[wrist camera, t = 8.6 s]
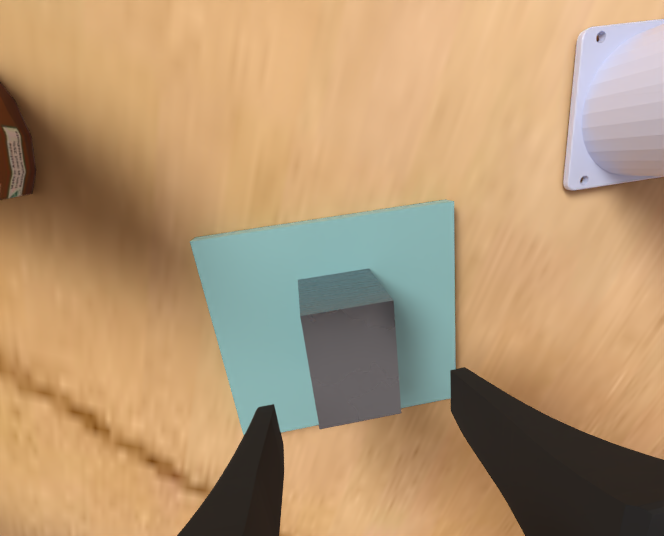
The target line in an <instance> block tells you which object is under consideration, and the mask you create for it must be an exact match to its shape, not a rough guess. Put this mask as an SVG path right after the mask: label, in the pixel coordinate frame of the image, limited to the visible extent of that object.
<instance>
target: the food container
mask: <svg viewBox="0 0 664 536" xmlns="http://www.w3.org/2000/svg"><path fill="white" fill-rule="evenodd" d="M35 175H36V166H35V158H34V151H33V144H32V137H31V134H30V132H29V130H28V128H27V126H26V123H25V121H24V119H23V117H22V115H21V112H20V110H19V108H18V106H17V104H16V101H15V100H14V99H13V97H12V96H11V95H10V94H9V93H8V91H7V90H6V89H5V88H4V86H3V85H2V84H1V83H0V200H3V199H8V198H13V197H18V196H23V195H28V194H32V192H33V186H34V180H35Z"/></svg>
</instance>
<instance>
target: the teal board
mask: <svg viewBox="0 0 664 536" xmlns="http://www.w3.org/2000/svg"><path fill="white" fill-rule="evenodd" d="M190 244H191V248H192V251H193V255H194V258H195V262H196V265H197V269H198V273H199V276H200V280H201V283H202V287H203V291H204V294H205V298H206V301H207V305H208V309H209V312H210V316H211V319H212V323H213V327H214V330H215V334H216V337H217V341H218V345H219V348H220V352H221V355H222V359H223V362H224V366H225V370H226V373H227V377H228V380H229V384H230V388H231V391H232V395H233V398H234V402H235V406H236V409H237V413H238V416H239V420H240V424H241V427H242V431H243V434H244V435H245V433H246V431H247V429H248V427H249V425H250V423H251V421H252V418H253V416H254V414H255V412H256V410H257V408H258V407H261V406H267V405H272V404H274V406H275V410H276V415H277V419H278V423H279V428H280V432H286V431H291V430H296V429H301V428H306V427H310V426H315V425H319V423H318V417H317V411H316V405H315V399H314V394H313V388H312V382H311V376H310V370H309V365H308V359H307V353H306V347H305V341H304V336H303V330H302V324H301V318H300V307H299V292H298V280H299V279H305V278H311V277H318V276H324V275H330V274H337V273H343V272H349V271H355V270H362V269H368V268H369V269H370V270H371V272H372V273H373V274H374V276H375V277H376V278H377V279H378V281H379V282H380V283H381V285H382V286H383V287H384V289H385V290H386V291H387V292H388V294H389V295H390V296H391V298H392V299H393V300H394V314H395V328H396V343H397V357H398V372H399V387H400V401H401V408H405V407H410V406H415V405H420V404H425V403H430V402H435V401H440V400H445V399H450V398H451V381H450V370H454V369H456V366H455V256H454V201H450V200H439V201H433V202H426V203H419V204H413V205H406V206H400V207H393V208H386V209H380V210H373V211H367V212H360V213H353V214H347V215H340V216H334V217H327V218H320V219H314V220H307V221H301V222H294V223H287V224H281V225H274V226H267V227H261V228H254V229H248V230H241V231H234V232H228V233H221V234H215V235H208V236H201V237H195V238H194V239H193V240H191V241H190Z"/></svg>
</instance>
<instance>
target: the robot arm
mask: <svg viewBox="0 0 664 536" xmlns="http://www.w3.org/2000/svg"><path fill="white" fill-rule="evenodd" d="M597 35H598V36H599V41H598V42H597V41H596V37H597ZM582 177H583V180H582V182H581V183H580V180H581V178H582ZM659 177H664V19H658V20H649V21H640V22H631V23H622V24H613V25H605V26H596V27H591V28H588V29H586V30H584V31H582V32H581V33H580V35H579V36H578V39H577V45H576V56H575V66H574V76H573V87H572V97H571V108H570V118H569V128H568V139H567V149H566V160H565V170H564V180H563V185H564V187H565V189H567V190H581V189H587V188H594V187H600V186H607V185H613V184H620V183H626V182H633V181H639V180H646V179H652V178H659ZM450 381H451V412H452V414H453V416H454V418H455V420H456V422H457V424H458V426H459V428H460V430H461V432H462V434H463V435H464V437H465V438H466V440H467V442H468V443H469V445H470V446H471V448H472V449H473V451H474V452H475V454H476V455H477V457H478V458H479V460H480V461H481V463H482V464H483V466H484V467H485V469H486V470H487V472H488V473H489V475H490V476H491V478H492V479H493V481H494V482H495V484H496V485H497V487H498V488H499V490H500V492H501V493H502V495H503V496H504V498H505V500H506V501H507V503H508V505H509V507H510V509H511V510H512V512H513V514H514V516H515V518H516V519H517V521H518V523H519V525H520V527H521V529H522V530H523V532H524V534H525V536H664V460H663V459H659V458H655V457H652V456H649V455H646V454H643V453H640V452H637V451H634V450H630V449H627V448H624V447H622V446H619V445H616V444H613V443H610V442H608V441H605V440H602V439H600V438H597V437H595V436H592V435H590V434H587V433H585V432H582V431H580V430H578V429H575V428H573V427H571V426H569V425H566V424H564V423H562V422H560V421H558V420H555V419H553V418H551V417H549V416H547V415H545V414H543V413H541V412H539V411H538V410H536V409H534V408H532V407H530V406H528V405H526V404H524V403H523V402H521V401H519V400H517V399H516V398H514V397H512V396H510V395H509V394H507V393H505V392H504V391H502V390H500V389H499V388H497V387H496V386H494V385H492V384H491V383H489V382H487V381H486V380H484V379H483V378H481V377H479V376H478V375H476V374H475V373H473V372H471V371H470V370H468V369H466V368H459V369H454V370H450ZM283 480H284V449H283V441H282V436H281V432H280V428H279V423H278V419H277V415H276V410H275V406H274V404H272V405H267V406H261V407H258V408H257V410H256V412H255V414H254V416H253V418H252V421H251V423H250V425H249V427H248V429H247V431H246V433H245V435H244V437H243V439H242V441H241V442H240V444H239V446H238V448H237V450H236V452H235V454H234V455H233V457H232V459H231V461H230V462H229V464H228V466H227V467H226V469H225V470H224V472H223V474H222V475H221V477H220V479H219V480H218V482H217V483H216V485H215V486H214V488H213V489H212V491H211V492H210V494H209V495H208V496H207V498H206V499H205V501H204V502H203V503H202V505H201V506H200V508H199V509H198V510H197V511H196V513H195V514H194V515H193V517H192V518H191V519H190V521H189V522H188V523H187V524H186V526H185V527H184V528H183V529H182V531H181V532H180V533H179V534H178V535H177V536H279V530H280V517H281V505H282V493H283Z"/></svg>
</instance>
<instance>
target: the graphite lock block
mask: <svg viewBox="0 0 664 536" xmlns="http://www.w3.org/2000/svg"><path fill="white" fill-rule="evenodd" d="M298 292H299V307H300V318H301V324H302V330H303V336H304V341H305V347H306V353H307V359H308V365H309V370H310V376H311V382H312V388H313V394H314V399H315V405H316V411H317V417H318V423H319V428H320V429H323V428H328V427H334V426H339V425H344V424H349V423H354V422H359V421H364V420H369V419H374V418H379V417H384V416H389V415H394V414H399V413H401V401H400V387H399V372H398V357H397V343H396V328H395V314H394V300H393V299H392V298H391V296H390V295H389V294H388V292H387V291H386V290H385V289H384V287H383V286H382V285H381V283H380V282H379V281H378V279H377V278H376V277H375V276H374V274H373V273H372V272H371V270H370V269H369V268H368V269H362V270H355V271H349V272H343V273H337V274H330V275H324V276H318V277H311V278H305V279H299V280H298Z"/></svg>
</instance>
